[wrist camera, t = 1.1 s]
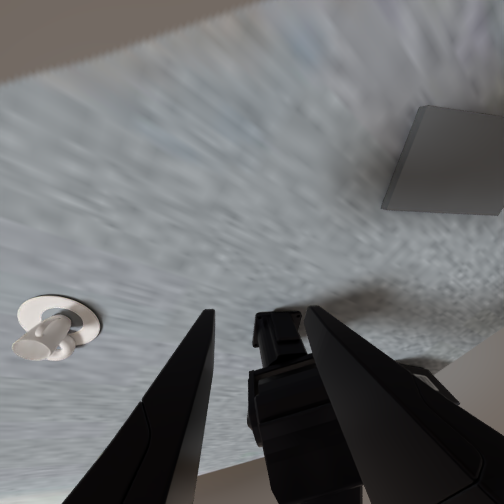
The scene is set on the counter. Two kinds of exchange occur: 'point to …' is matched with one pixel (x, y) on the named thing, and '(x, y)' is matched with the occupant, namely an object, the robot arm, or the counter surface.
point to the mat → (450, 164)
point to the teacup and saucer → (52, 329)
